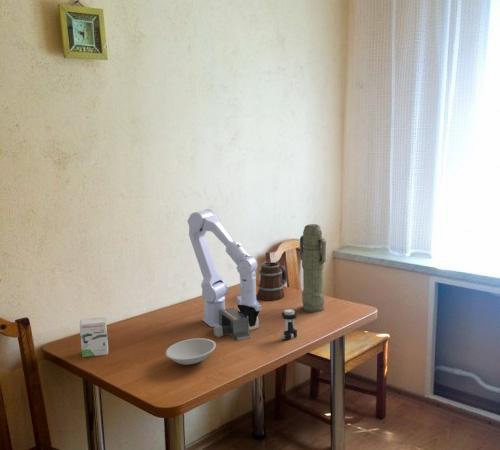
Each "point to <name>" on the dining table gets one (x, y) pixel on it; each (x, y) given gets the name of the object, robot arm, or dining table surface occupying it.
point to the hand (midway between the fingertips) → (249, 324)
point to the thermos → (313, 267)
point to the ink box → (94, 336)
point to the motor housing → (234, 323)
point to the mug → (271, 281)
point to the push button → (289, 324)
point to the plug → (227, 330)
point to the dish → (190, 350)
